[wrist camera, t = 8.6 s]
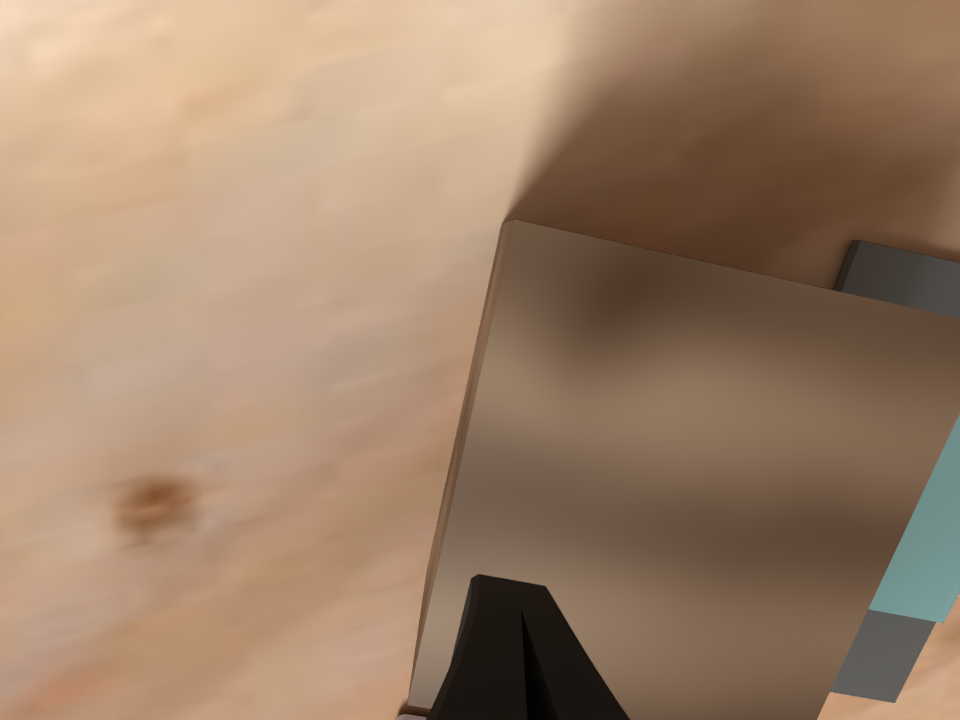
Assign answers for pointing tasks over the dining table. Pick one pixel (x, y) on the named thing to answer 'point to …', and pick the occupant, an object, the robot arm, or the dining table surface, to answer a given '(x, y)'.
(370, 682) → the dining table surface
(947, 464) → the teal and white sponge
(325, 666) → the dining table surface
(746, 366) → the riser
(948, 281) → the mat
